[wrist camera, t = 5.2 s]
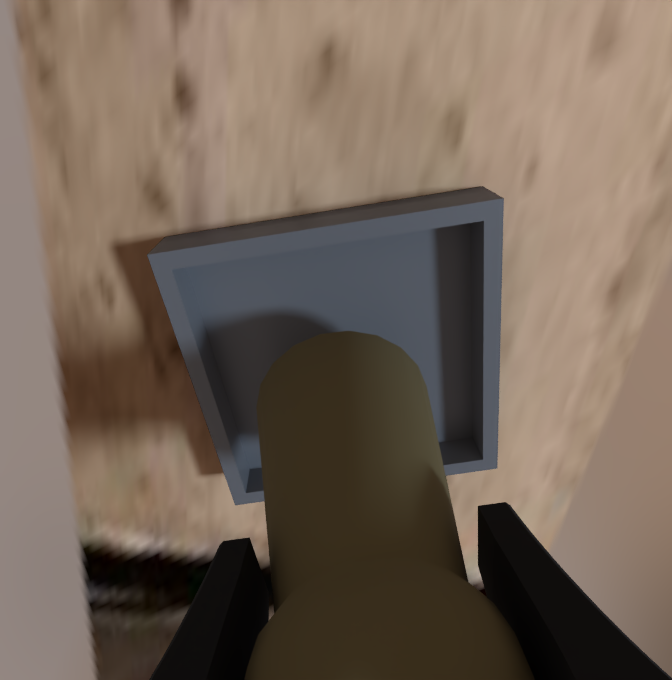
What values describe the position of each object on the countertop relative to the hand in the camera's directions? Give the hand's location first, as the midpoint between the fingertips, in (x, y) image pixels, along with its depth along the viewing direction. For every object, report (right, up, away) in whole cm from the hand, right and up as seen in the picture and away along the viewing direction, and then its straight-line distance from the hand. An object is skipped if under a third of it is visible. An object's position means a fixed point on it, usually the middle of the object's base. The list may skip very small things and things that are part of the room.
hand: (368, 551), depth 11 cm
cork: (-1, +3, +6) cm, 7 cm away
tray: (0, +4, +8) cm, 9 cm away
